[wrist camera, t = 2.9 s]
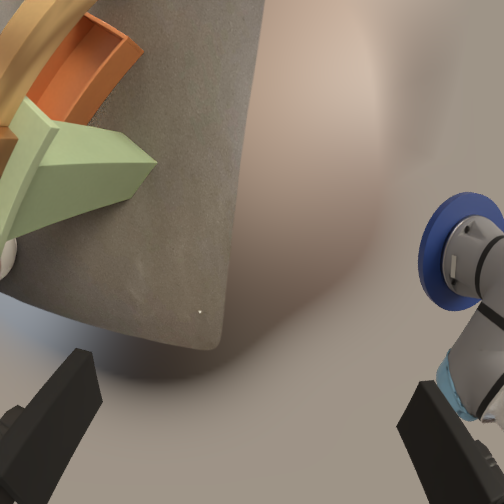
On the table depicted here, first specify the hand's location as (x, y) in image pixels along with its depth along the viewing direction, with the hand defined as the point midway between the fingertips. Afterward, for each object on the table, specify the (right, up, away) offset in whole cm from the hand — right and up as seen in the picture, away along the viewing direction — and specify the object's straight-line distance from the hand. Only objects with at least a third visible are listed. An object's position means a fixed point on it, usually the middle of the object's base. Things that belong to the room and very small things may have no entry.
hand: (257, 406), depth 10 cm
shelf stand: (-18, +21, +32) cm, 42 cm away
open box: (-28, +34, +28) cm, 53 cm away
